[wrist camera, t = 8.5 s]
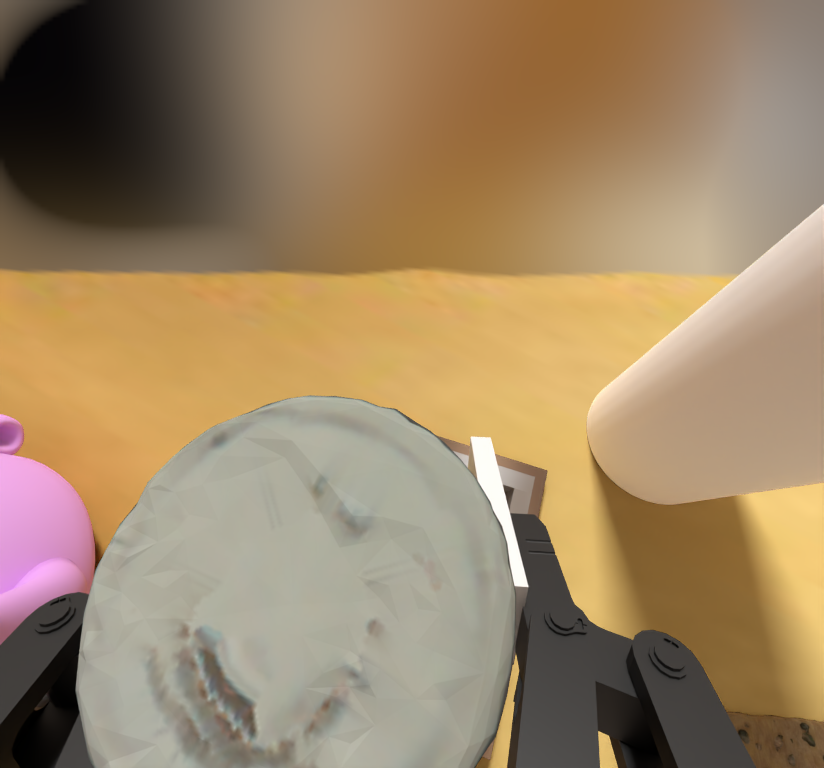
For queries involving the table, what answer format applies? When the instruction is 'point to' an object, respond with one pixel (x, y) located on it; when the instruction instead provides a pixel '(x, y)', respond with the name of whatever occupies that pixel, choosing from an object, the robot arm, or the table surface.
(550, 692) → the robot arm
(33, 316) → the table surface
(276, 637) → the sauce bottle
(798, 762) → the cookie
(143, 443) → the table surface
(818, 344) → the cylinder container
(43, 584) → the teapot
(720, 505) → the table surface
